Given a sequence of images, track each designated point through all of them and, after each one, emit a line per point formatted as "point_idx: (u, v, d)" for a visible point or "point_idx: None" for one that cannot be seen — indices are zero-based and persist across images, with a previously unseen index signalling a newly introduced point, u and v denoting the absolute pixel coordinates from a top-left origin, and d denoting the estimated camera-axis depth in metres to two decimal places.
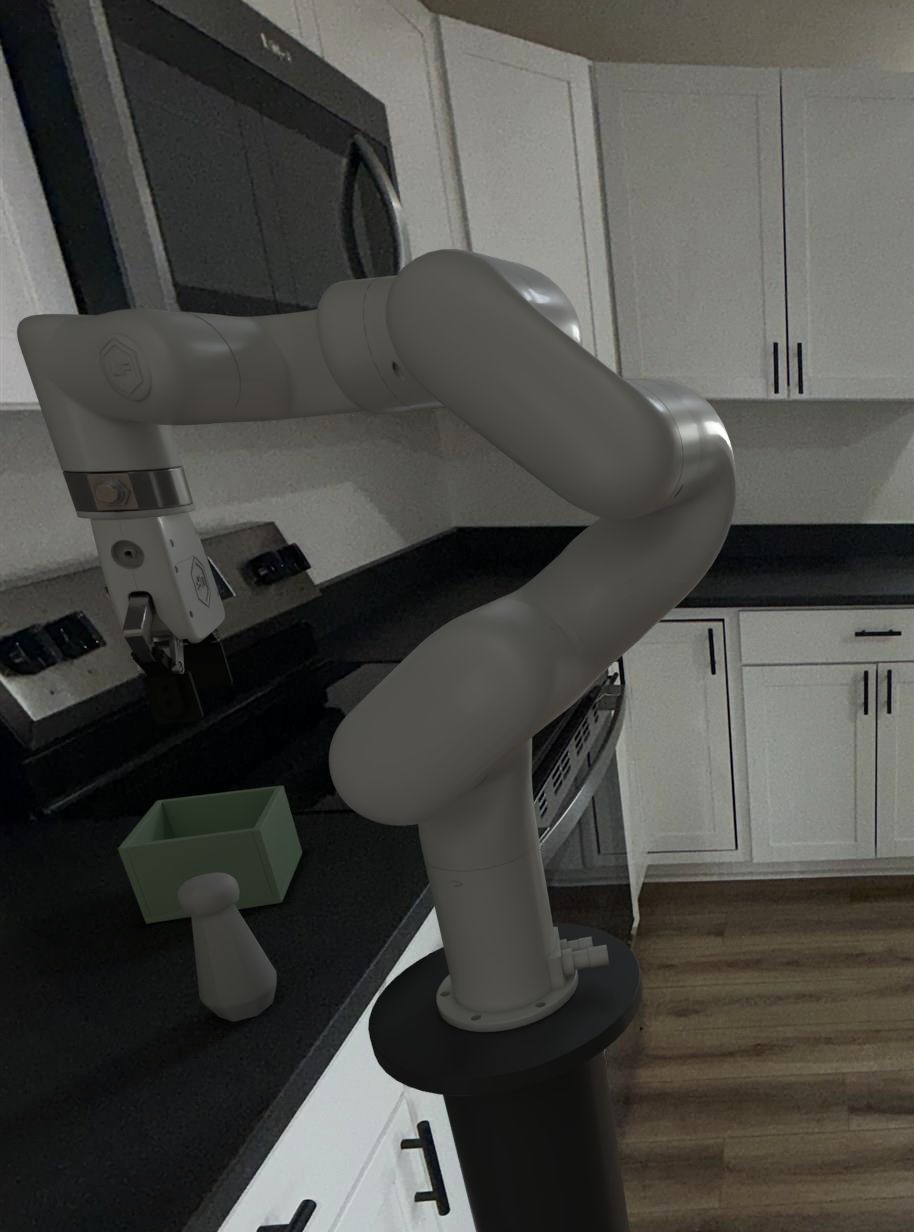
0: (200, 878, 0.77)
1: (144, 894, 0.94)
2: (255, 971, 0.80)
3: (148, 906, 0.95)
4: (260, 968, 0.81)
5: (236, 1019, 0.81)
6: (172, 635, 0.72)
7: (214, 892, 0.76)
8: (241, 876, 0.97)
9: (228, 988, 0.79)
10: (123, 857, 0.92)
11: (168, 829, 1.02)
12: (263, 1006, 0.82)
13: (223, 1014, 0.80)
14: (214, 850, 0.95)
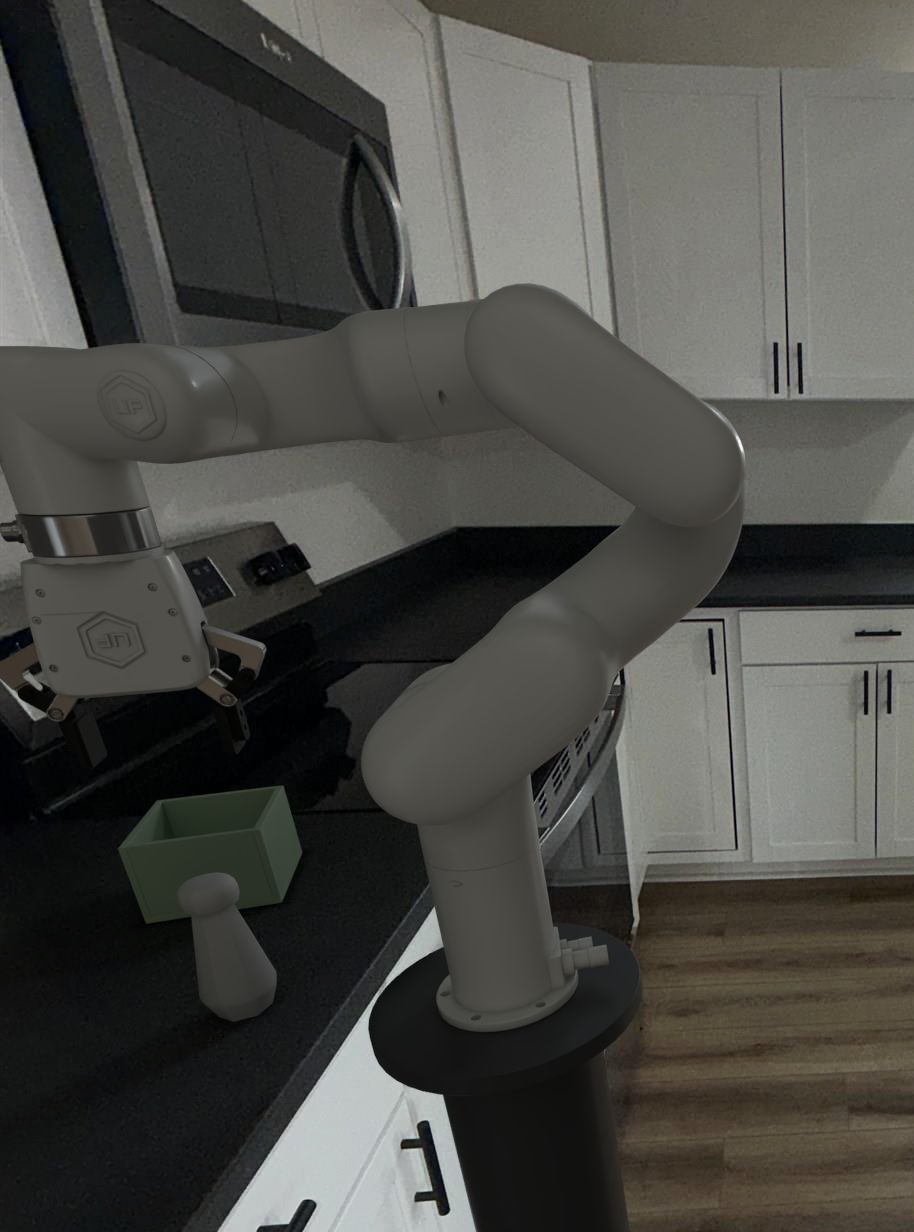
0: (200, 878, 0.77)
1: (144, 894, 0.94)
2: (255, 971, 0.80)
3: (148, 906, 0.95)
4: (260, 968, 0.81)
5: (236, 1019, 0.81)
6: None
7: (214, 892, 0.76)
8: (241, 876, 0.97)
9: (228, 988, 0.79)
10: (123, 857, 0.92)
11: (168, 829, 1.02)
12: (263, 1006, 0.82)
13: (223, 1014, 0.80)
14: (214, 850, 0.95)
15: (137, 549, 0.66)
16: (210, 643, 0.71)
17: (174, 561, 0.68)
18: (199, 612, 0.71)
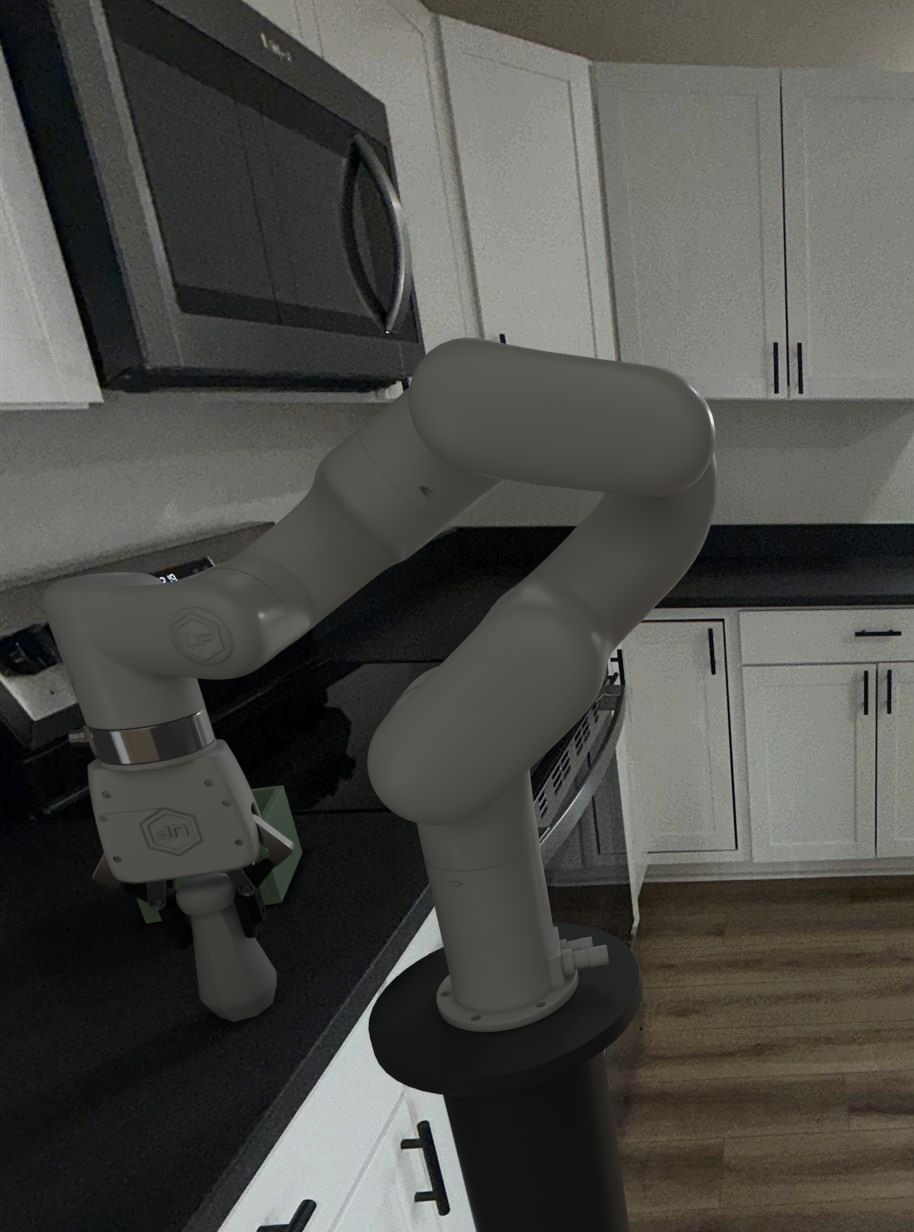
0: (199, 878, 0.77)
1: None
2: (255, 971, 0.80)
3: (148, 906, 0.95)
4: (260, 968, 0.81)
5: (236, 1019, 0.81)
6: None
7: (213, 892, 0.76)
8: None
9: (228, 988, 0.79)
10: None
11: None
12: (263, 1006, 0.82)
13: (223, 1014, 0.80)
14: None
15: (195, 750, 0.71)
16: None
17: (227, 754, 0.74)
18: (249, 796, 0.76)
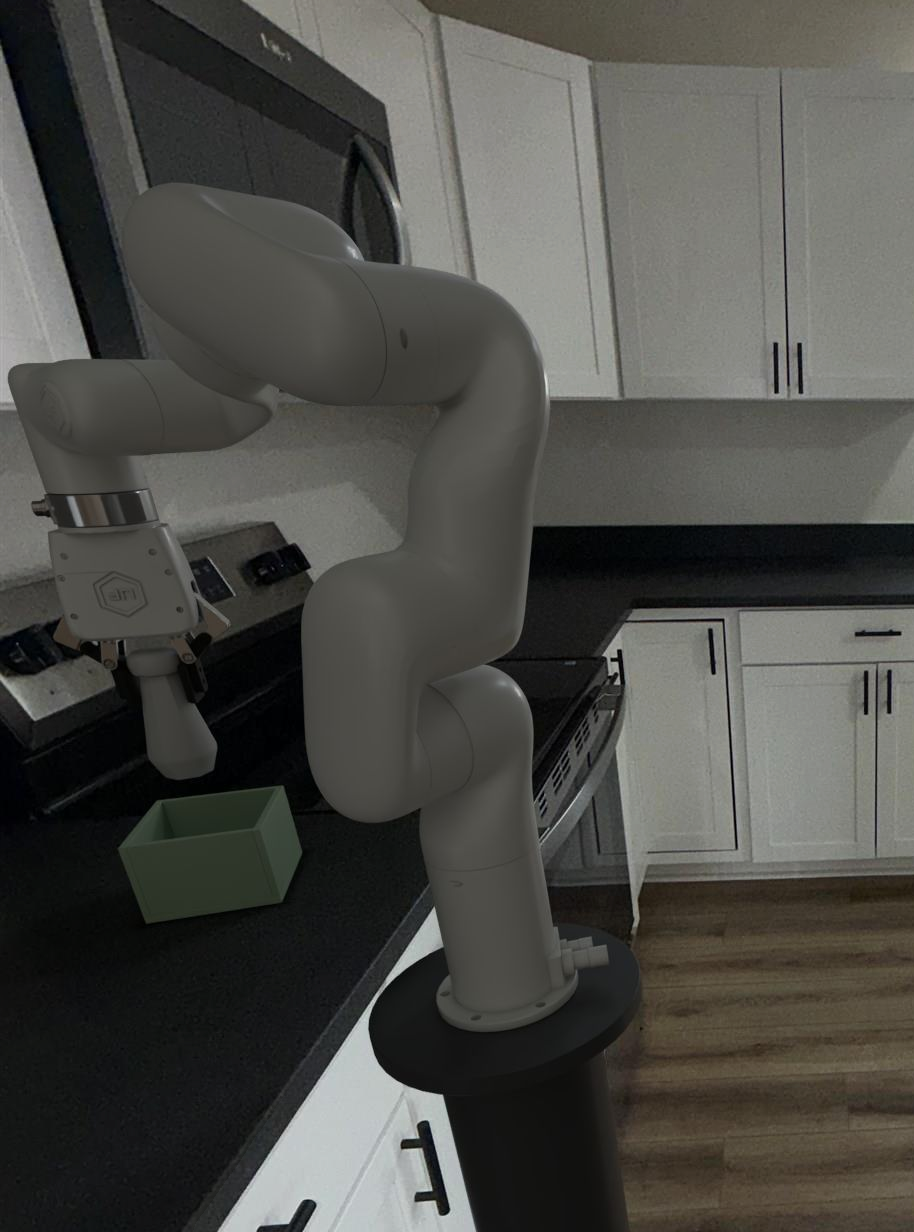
0: (147, 648, 0.90)
1: (144, 894, 0.94)
2: (197, 735, 0.92)
3: (148, 906, 0.95)
4: (201, 733, 0.93)
5: (180, 777, 0.93)
6: None
7: (158, 656, 0.89)
8: (241, 876, 0.97)
9: (172, 745, 0.91)
10: (123, 857, 0.92)
11: (168, 829, 1.02)
12: (204, 769, 0.94)
13: (169, 772, 0.92)
14: (214, 850, 0.95)
15: (140, 521, 0.84)
16: None
17: (169, 532, 0.86)
18: (189, 573, 0.88)
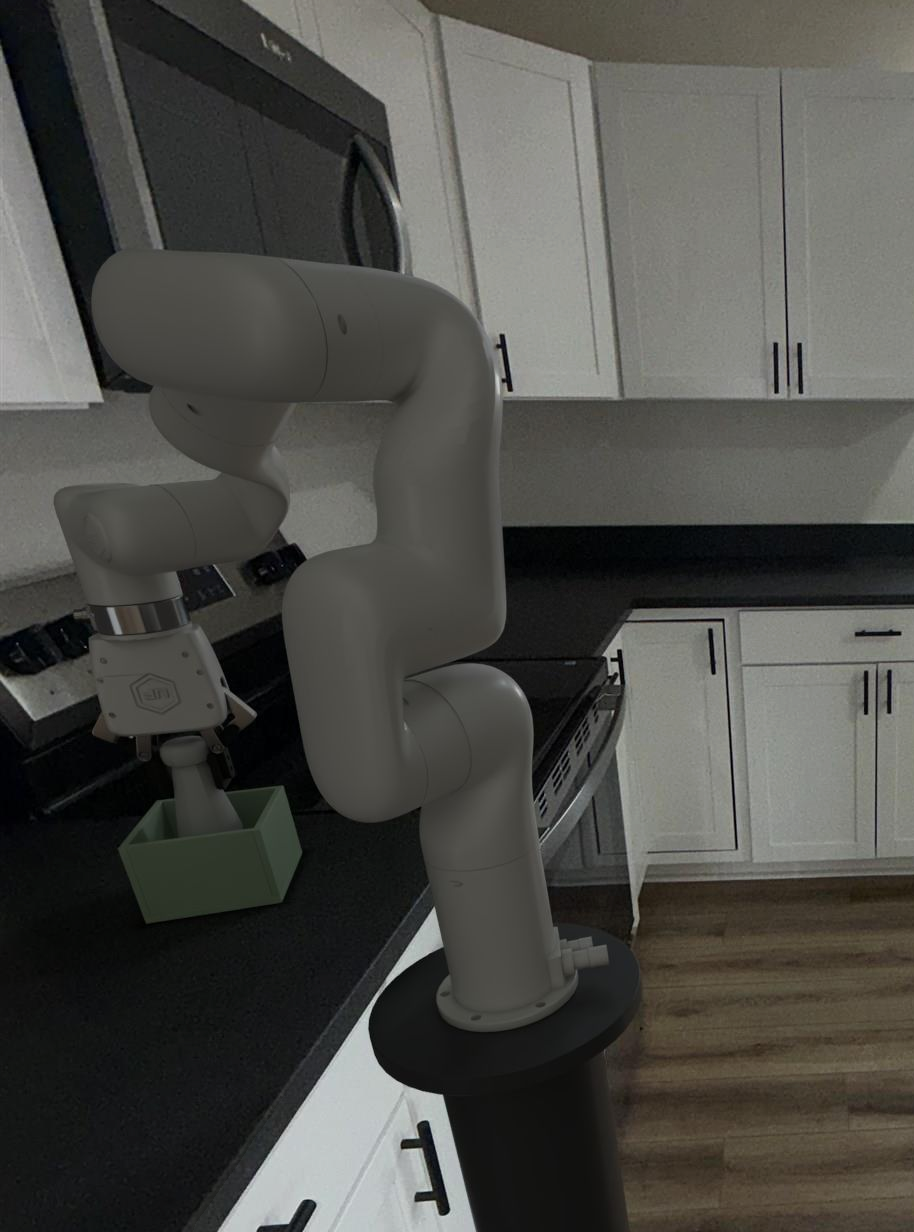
0: (179, 738, 0.96)
1: (144, 894, 0.94)
2: (224, 818, 0.98)
3: (148, 906, 0.95)
4: (228, 816, 0.99)
5: None
6: None
7: (189, 748, 0.94)
8: (241, 876, 0.97)
9: (201, 829, 0.97)
10: (123, 857, 0.92)
11: (168, 829, 1.02)
12: None
13: None
14: (214, 850, 0.95)
15: (174, 627, 0.89)
16: None
17: (200, 634, 0.92)
18: (219, 670, 0.94)
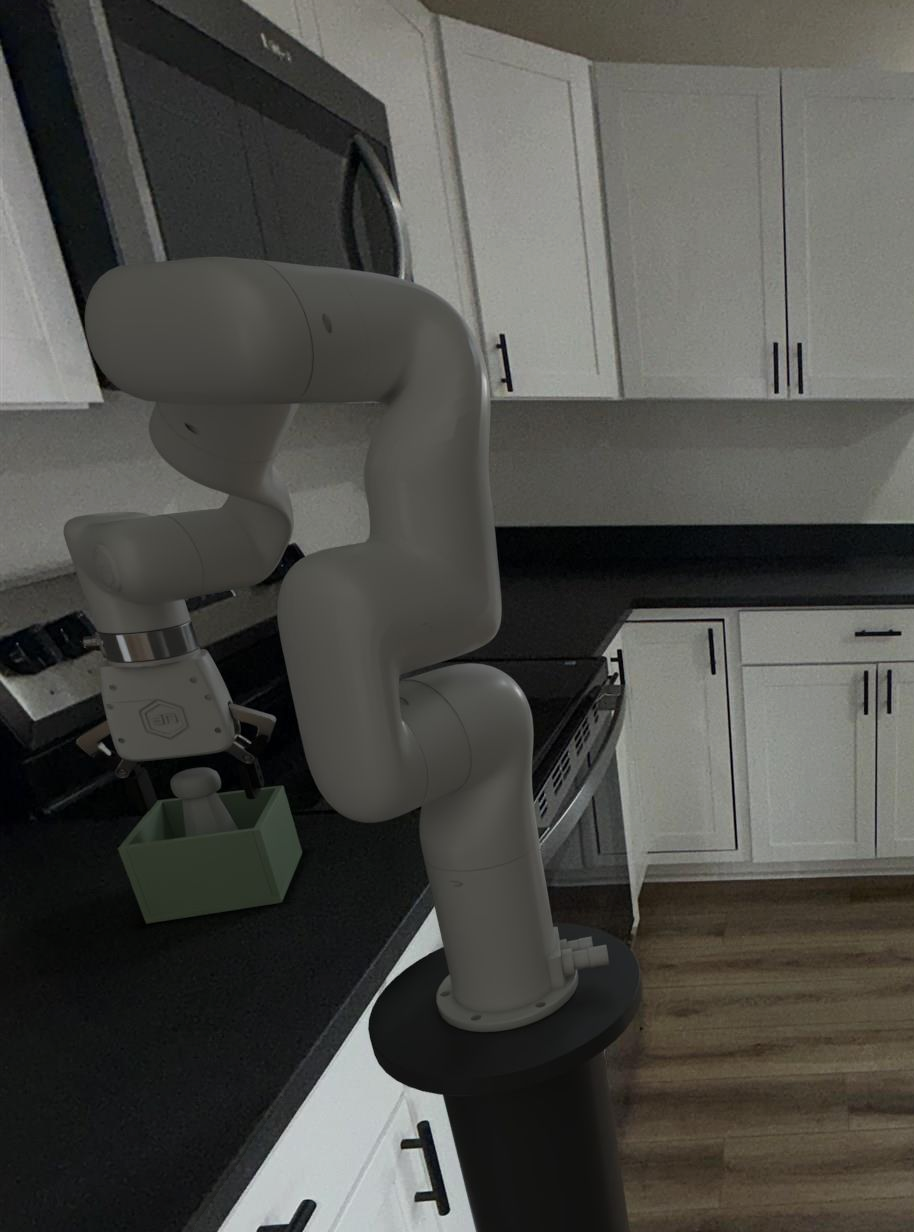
0: (189, 770, 0.97)
1: (144, 894, 0.94)
2: None
3: (148, 906, 0.95)
4: None
5: None
6: None
7: (200, 780, 0.96)
8: (241, 876, 0.97)
9: None
10: (123, 857, 0.92)
11: (168, 829, 1.02)
12: None
13: None
14: (214, 850, 0.95)
15: (182, 653, 0.90)
16: (235, 717, 0.96)
17: (208, 659, 0.93)
18: (226, 695, 0.95)
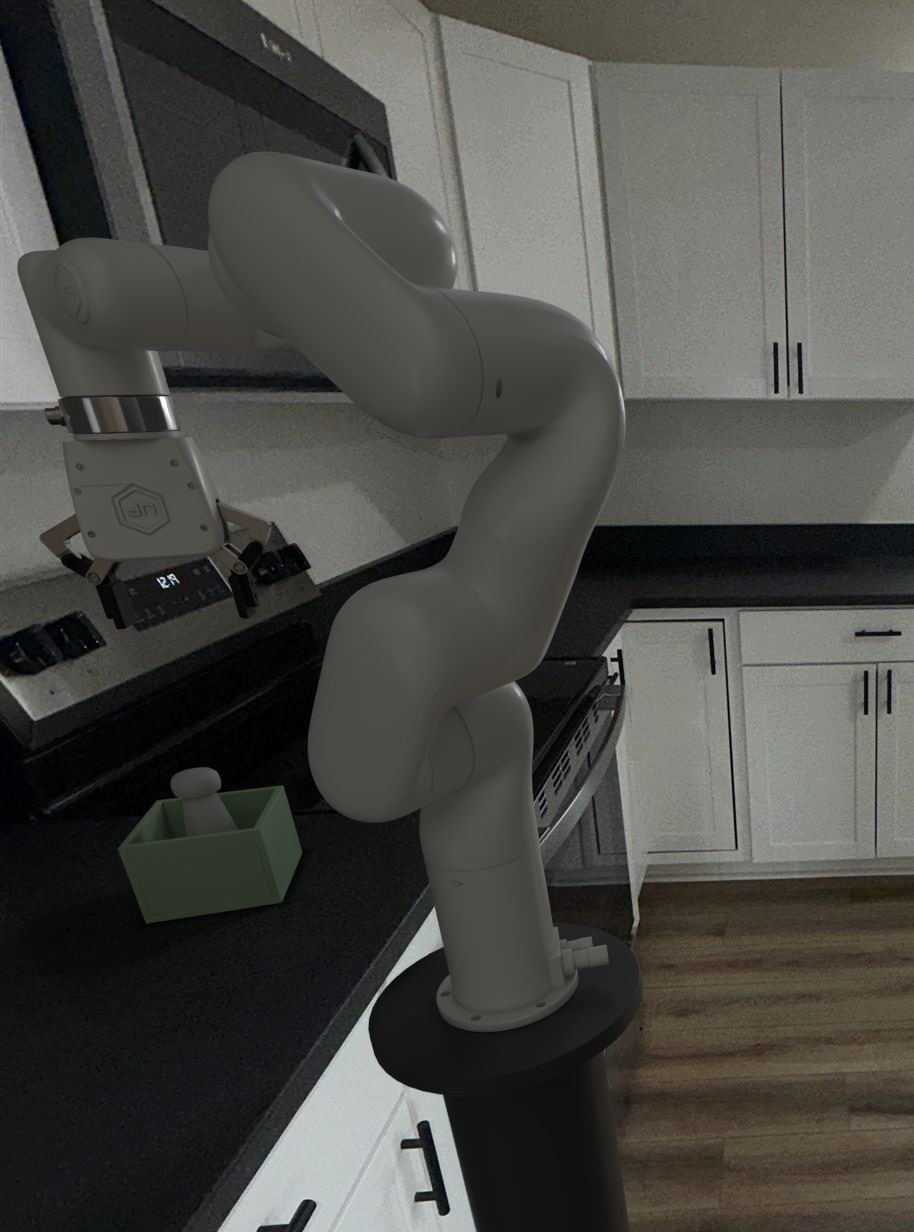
0: (189, 770, 0.97)
1: (144, 894, 0.94)
2: None
3: (148, 906, 0.95)
4: None
5: None
6: None
7: (200, 780, 0.96)
8: (241, 876, 0.97)
9: None
10: (123, 857, 0.92)
11: (168, 829, 1.02)
12: None
13: None
14: (214, 850, 0.95)
15: (161, 429, 0.77)
16: (224, 517, 0.83)
17: (192, 443, 0.80)
18: (214, 490, 0.82)
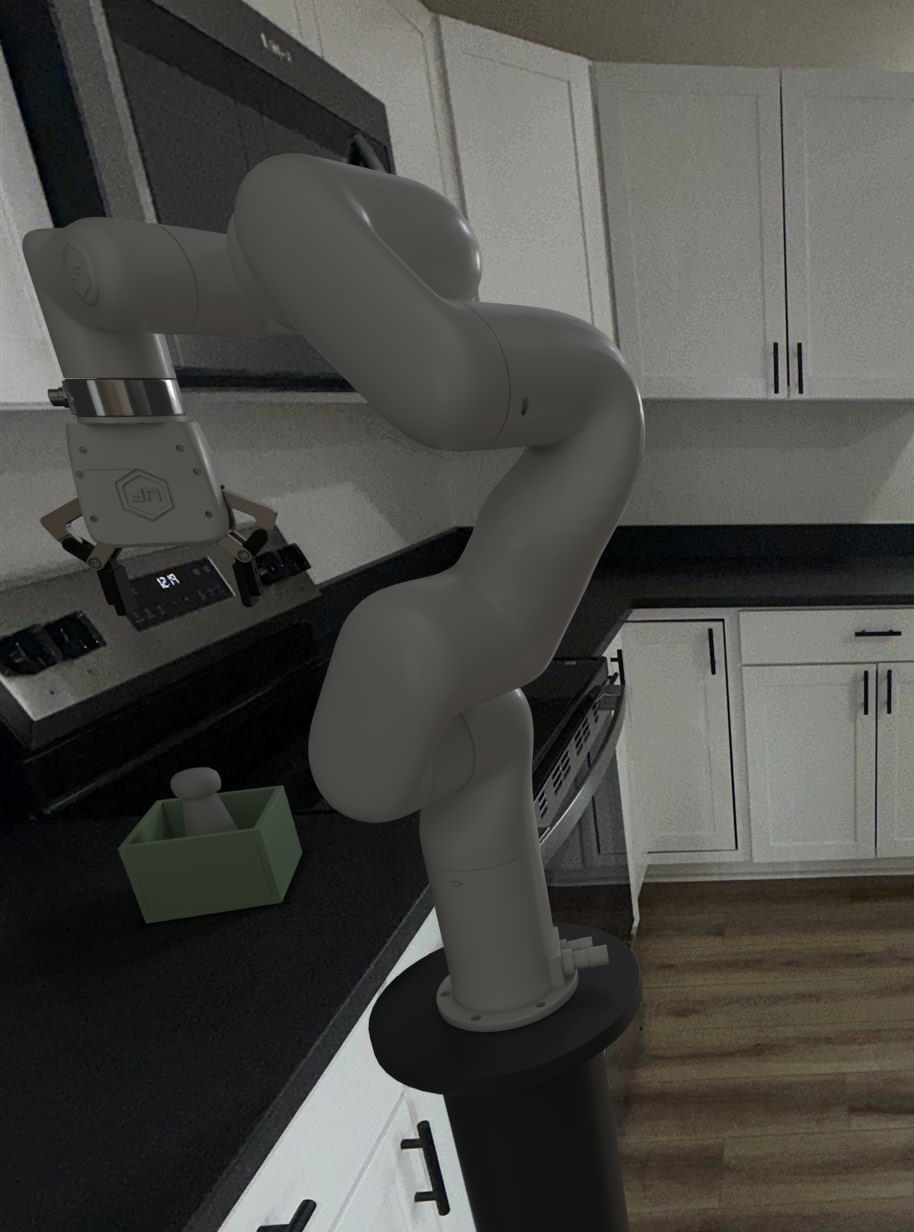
0: (189, 770, 0.97)
1: (144, 894, 0.94)
2: None
3: (148, 906, 0.95)
4: None
5: None
6: None
7: (200, 780, 0.96)
8: (241, 876, 0.97)
9: None
10: (123, 857, 0.92)
11: (168, 829, 1.02)
12: None
13: None
14: (214, 850, 0.95)
15: (166, 414, 0.76)
16: (229, 504, 0.81)
17: (198, 428, 0.78)
18: (219, 476, 0.81)
